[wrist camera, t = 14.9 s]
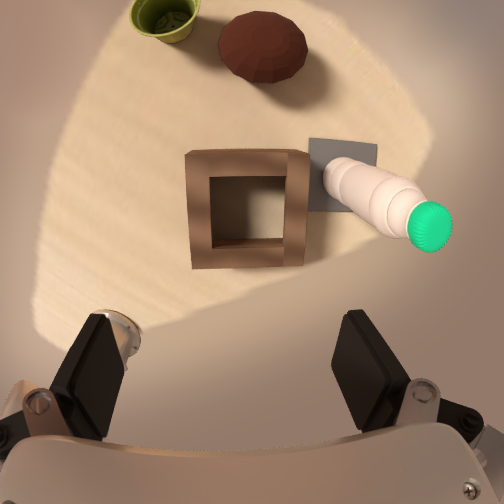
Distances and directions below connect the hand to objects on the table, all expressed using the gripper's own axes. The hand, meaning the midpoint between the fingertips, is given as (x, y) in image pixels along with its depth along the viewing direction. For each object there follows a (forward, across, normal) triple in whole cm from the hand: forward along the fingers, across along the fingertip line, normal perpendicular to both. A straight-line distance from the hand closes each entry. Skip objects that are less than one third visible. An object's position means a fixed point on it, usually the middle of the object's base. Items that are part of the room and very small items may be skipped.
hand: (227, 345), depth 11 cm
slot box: (+36, -4, +2) cm, 37 cm away
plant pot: (+36, +8, -26) cm, 45 cm away
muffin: (+36, -5, -21) cm, 42 cm away
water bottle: (+36, -19, -2) cm, 41 cm away
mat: (+36, -19, -2) cm, 41 cm away
